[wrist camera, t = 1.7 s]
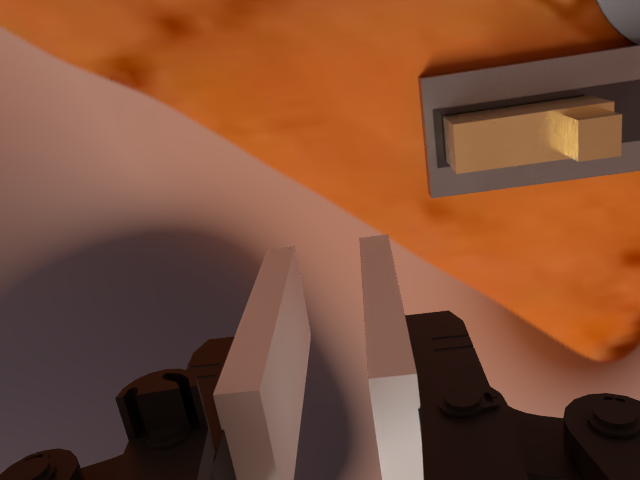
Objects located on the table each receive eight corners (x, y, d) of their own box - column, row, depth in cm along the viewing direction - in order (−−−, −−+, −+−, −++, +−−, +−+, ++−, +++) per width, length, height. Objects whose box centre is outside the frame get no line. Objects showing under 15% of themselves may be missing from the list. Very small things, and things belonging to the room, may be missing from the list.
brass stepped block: (442, 116, 32) (460, 130, 27) (588, 95, 31) (633, 106, 26) (446, 161, 33) (463, 183, 28) (588, 141, 32) (631, 160, 27)
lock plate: (418, 77, 33) (420, 78, 32) (688, 36, 32) (702, 36, 30) (428, 193, 35) (431, 198, 34) (681, 159, 34) (693, 163, 33)
